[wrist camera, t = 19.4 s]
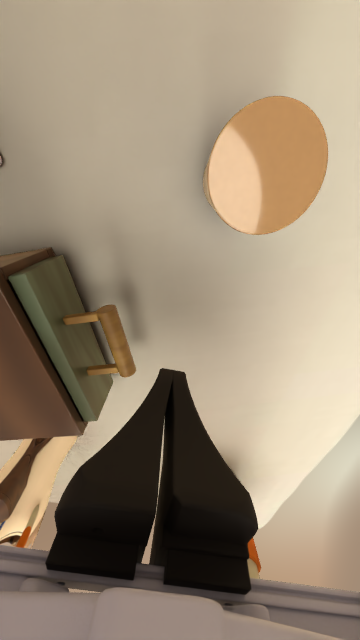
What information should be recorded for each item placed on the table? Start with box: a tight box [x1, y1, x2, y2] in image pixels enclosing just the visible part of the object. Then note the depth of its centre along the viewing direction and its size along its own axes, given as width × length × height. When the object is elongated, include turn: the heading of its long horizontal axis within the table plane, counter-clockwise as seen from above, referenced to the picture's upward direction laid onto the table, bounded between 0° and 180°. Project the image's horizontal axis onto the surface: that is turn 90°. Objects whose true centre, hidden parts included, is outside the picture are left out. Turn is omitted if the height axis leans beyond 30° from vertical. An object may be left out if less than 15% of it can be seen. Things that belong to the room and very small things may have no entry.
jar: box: [203, 96, 328, 235], centre depth 13 cm, size 5×5×8 cm
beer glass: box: [0, 436, 77, 549], centre depth 24 cm, size 7×7×15 cm
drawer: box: [7, 255, 136, 422], centre depth 20 cm, size 17×13×5 cm
